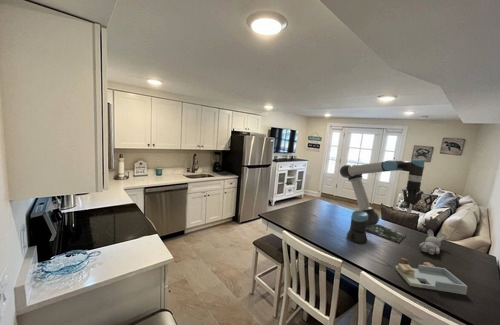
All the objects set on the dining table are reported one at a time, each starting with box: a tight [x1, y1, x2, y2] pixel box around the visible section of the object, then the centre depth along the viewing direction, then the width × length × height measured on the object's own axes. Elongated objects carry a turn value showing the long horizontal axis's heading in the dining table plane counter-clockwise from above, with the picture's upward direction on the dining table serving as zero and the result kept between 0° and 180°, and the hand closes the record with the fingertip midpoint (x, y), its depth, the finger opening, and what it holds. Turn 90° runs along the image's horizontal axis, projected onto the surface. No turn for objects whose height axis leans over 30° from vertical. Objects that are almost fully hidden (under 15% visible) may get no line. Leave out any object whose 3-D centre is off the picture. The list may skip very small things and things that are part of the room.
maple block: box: [397, 262, 415, 275], centre depth 126 cm, size 6×6×3 cm
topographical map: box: [366, 223, 407, 244], centre depth 187 cm, size 26×33×3 cm
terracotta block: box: [422, 261, 435, 267], centre depth 132 cm, size 4×4×4 cm
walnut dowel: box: [399, 257, 409, 265], centre depth 134 cm, size 4×4×5 cm
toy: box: [418, 229, 447, 256], centre depth 160 cm, size 12×10×30 cm
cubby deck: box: [394, 264, 469, 296], centre depth 121 cm, size 28×16×5 cm, turn 81°
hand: (408, 212), depth 147 cm, fingers closed
